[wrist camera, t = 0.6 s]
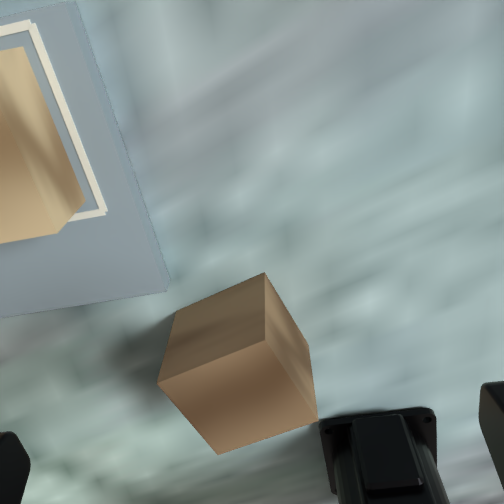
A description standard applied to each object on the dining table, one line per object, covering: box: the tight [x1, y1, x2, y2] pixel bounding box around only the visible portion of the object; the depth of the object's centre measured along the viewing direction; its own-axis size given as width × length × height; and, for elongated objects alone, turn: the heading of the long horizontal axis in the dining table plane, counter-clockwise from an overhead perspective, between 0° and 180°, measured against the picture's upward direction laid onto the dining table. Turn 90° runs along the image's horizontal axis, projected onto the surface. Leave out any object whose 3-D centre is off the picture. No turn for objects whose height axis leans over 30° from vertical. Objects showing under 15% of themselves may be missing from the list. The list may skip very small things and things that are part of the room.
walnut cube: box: [157, 272, 319, 455], centre depth 21 cm, size 5×5×5 cm
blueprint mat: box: [0, 2, 170, 318], centre depth 19 cm, size 12×10×1 cm
